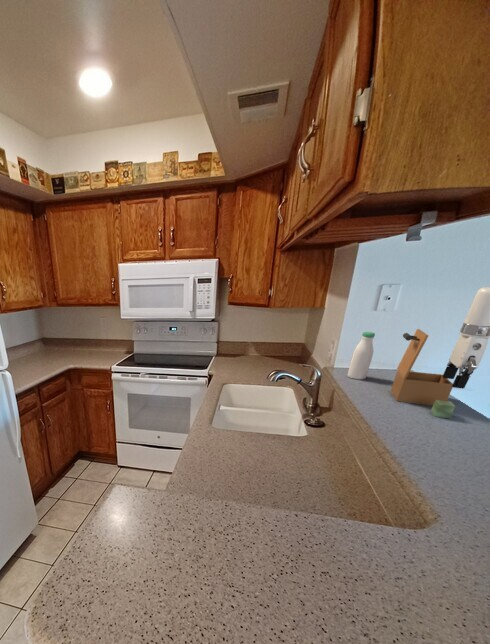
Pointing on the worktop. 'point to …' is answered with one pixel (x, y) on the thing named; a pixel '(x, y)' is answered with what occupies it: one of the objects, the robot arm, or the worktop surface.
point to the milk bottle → (362, 357)
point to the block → (443, 408)
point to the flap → (412, 351)
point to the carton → (421, 388)
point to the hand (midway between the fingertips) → (452, 382)
